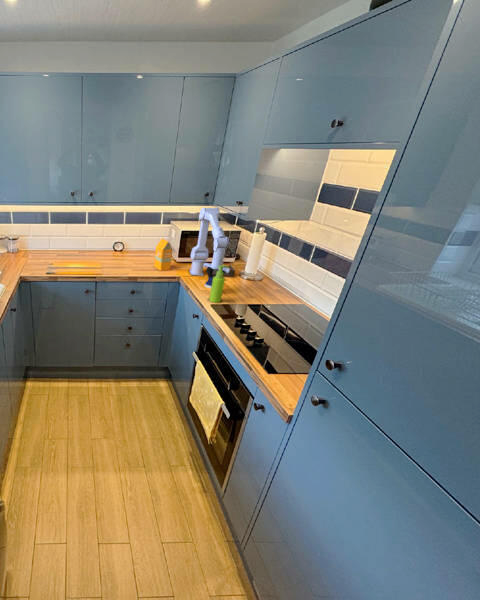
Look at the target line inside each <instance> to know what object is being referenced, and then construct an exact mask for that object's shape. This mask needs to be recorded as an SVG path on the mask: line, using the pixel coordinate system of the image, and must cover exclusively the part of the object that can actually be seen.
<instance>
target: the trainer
mask: <svg viewBox="0 0 480 600" xmlns="http://www.w3.org/2000/svg"><path fill="white" fill-rule="evenodd" d="M215 276H216V275H213V276H211V277H209V278H208V279H207V281H205V284H204V286H203V287H204V288H208V289H211V287H212V281H213V277H215Z"/></svg>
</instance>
